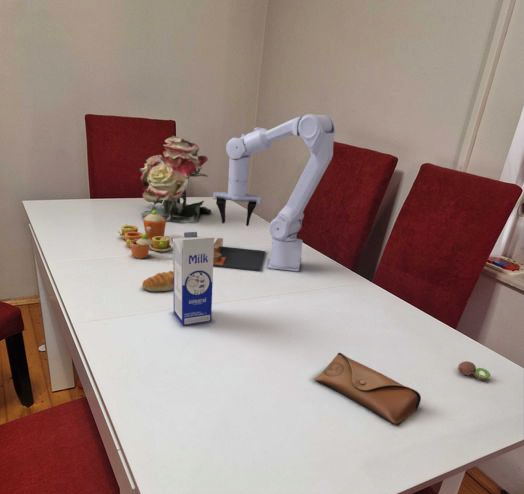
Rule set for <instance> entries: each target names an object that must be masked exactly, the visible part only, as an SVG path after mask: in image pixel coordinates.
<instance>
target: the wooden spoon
mask: <svg viewBox="0 0 524 494" xmlns="http://www.w3.org/2000/svg"><path fill="white" fill-rule="evenodd" d="M222 247H224V238H221V237H217V238H216V240H215V241H214V257H213V263H217V262H220V261H221V254H220V251H221V249H222Z"/></svg>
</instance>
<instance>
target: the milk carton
mask: <svg viewBox="0 0 524 494" xmlns="http://www.w3.org/2000/svg"><path fill="white" fill-rule="evenodd" d="M172 242H173V243H172V251H173V252H172V259H173V260H172V261H173V262H172V264H173V265H172V267H173V268H172V269H173V270H172V271H173V288H174V290H173V314H174V315H175V317H176V319H177V320H178V321H179V323H180V325H182V327H186V326H191V325H197V324H205V323H211V322H212V313H213V312H212V311H213V310H212V309H213V284H214V282H213V281H214V280H213V279H214V266H213V257H214V243H215V237H214V236H198V231H188V232H187V231H186V232H183V237H176V238H172Z"/></svg>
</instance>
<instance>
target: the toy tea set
mask: <svg viewBox="0 0 524 494" xmlns="http://www.w3.org/2000/svg"><path fill="white" fill-rule="evenodd" d="M151 211H152V214H149V215H147V216H146V217H145V218H143V219H142V222H143V227H144V233H142V232H140V231H138V230H139V227H138V226H136V225H129V224H125V225H122V226H121V227H120V229H121V232H120V230H117V233H118V234H119V238H120V239H122V240H125V243H126V246H127V248H130V251H131V255H132V258H135V259H146V258H148V256H149V252H150V249H151V250H152V251H155V252H161V253H162V252H168V251H171V250H172V249H173V245H171V239H170V237H169V236H165V233H166V225H167V221H166V219H165V218H163V217H162V216H161V215H159V214H156V213H157V212H156V211H155V210H151Z"/></svg>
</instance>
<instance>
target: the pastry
mask: <svg viewBox="0 0 524 494" xmlns="http://www.w3.org/2000/svg"><path fill="white" fill-rule="evenodd" d="M141 286H142V288H143V289H144V290H146V291H148V292H154V293H157V292H169V291H174V288H173V270H169V271H166V272H165V271H164V272H158V273H155V275H152V276H149V277H148V278H146V279H144V280H143V281H142V285H141Z"/></svg>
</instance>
